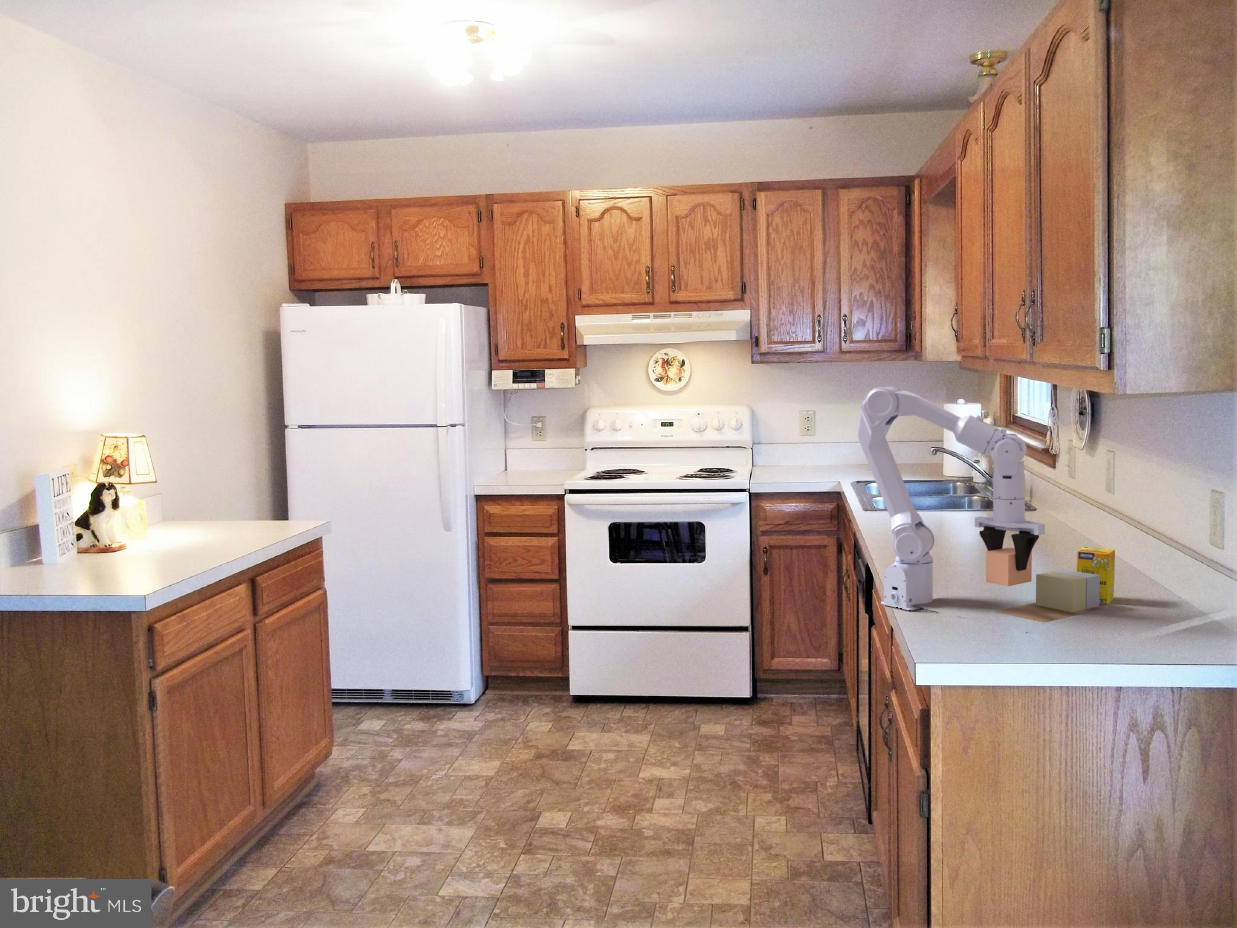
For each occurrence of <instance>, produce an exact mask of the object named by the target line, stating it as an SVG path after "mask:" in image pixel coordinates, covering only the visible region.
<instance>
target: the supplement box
mask: <svg viewBox="0 0 1237 928" xmlns="http://www.w3.org/2000/svg"><path fill="white" fill-rule="evenodd" d="M1115 560H1116V549H1115V548H1102V547H1101V548H1099V547H1098V548H1097V547H1089V546H1083V547H1081V548H1080V549H1078V550H1077V552H1076V571H1077V572H1083V573H1089V574H1095V575H1100V596H1099V604H1104V605H1109V604H1110V603H1111V602H1112V601H1113V600H1114V599H1115V575H1116V574H1115V571H1116V570H1115V566H1116V565H1115V563H1116V561H1115Z"/></svg>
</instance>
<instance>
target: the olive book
mask: <svg viewBox="0 0 1237 928" xmlns="http://www.w3.org/2000/svg"><path fill="white" fill-rule="evenodd" d="M1035 602H1036V605H1038V606H1043V607H1048V608H1053V609H1058V610H1063V611H1068V612H1076V611H1081V610H1085V609H1086V578H1082V577H1076V576H1070V575H1064V574H1058V573H1052V572H1051V571H1048V572H1043V573H1038V574H1035Z"/></svg>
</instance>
